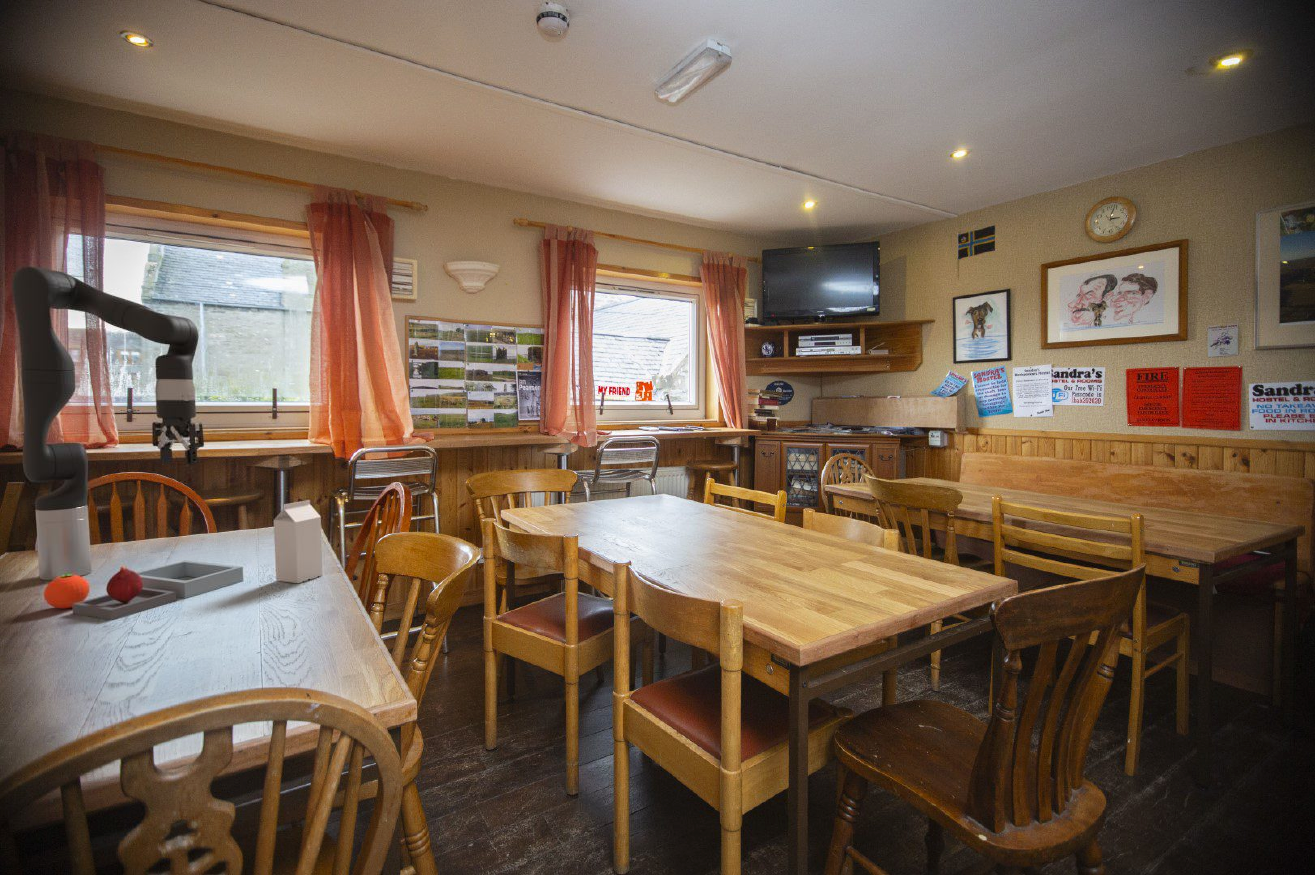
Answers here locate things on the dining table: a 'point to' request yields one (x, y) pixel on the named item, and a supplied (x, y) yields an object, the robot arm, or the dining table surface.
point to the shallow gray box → (207, 572)
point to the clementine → (66, 591)
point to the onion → (124, 585)
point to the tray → (123, 604)
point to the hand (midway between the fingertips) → (179, 464)
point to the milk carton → (298, 543)
